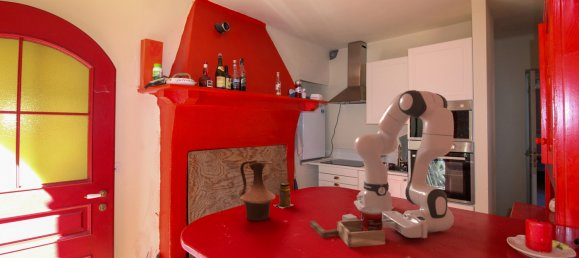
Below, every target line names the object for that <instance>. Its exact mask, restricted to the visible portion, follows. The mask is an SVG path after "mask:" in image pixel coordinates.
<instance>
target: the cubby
mask: <svg viewBox="0 0 579 258" xmlns="http://www.w3.org/2000/svg"><path fill="white" fill-rule="evenodd" d="M336 229H337V230H338V231H339V236H338V237H339V238H340V239H341V240H342V241H343V242H344V243H345V244H346V246H347V247H348V248H358V247H369V246H370V247H371V246H379V245H380V246H381V245H386V230H385V229H382V230H374V231H362V232H361V219H357V220H347V221H342V220H337V221H336Z"/></svg>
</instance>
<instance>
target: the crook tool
mask: <svg viewBox="0 0 579 258" xmlns="http://www.w3.org/2000/svg"><path fill="white" fill-rule="evenodd" d="M309 226H310V227H311V228H312V229H313V230H314V231H315V232H316V233H317V234H318V235H319V236H320V238H322V239H324V238H331V237H340V236H339V231H338V230H337V228H333V229H329V230H328V229H324V228H323V227H322V226H321V225H320V224H319V223H317V222H316V221H315V220H309Z"/></svg>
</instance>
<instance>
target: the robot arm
mask: <svg viewBox="0 0 579 258" xmlns="http://www.w3.org/2000/svg"><path fill="white" fill-rule="evenodd" d="M453 114H454V113H453V112H452V111H451V110H450V108H448V100H447V99H446V97H445V96H444V95H442V94H439V93H437V92H436V93H435V92H431V91H426V90H415V89H410V90H406V91H404V92H402V93H401V92H400V93H399V94H397V95H396V96H395V97H394V98H393V99H392V100H391V102H390V103H389V104H388V106H387V107H386V109H385V110H384V112H383V114H382V115H381V117H379V119H378V122H377V126H378V131H377V132H376V133H374V134H372V133H370V134H363V135H360V136H358V137H356V138H355V140H354V144H353V147H354V150H355V152H356V154H358V155H359V157H360V158H361V159H362V162H363V166H364V180H365V181H363V189H362V190H360V192H358V194H357V195H356V200H354V201H353V205H355V207H356V208H357V210H358V211H360V212H361V209H362V208H363V207H376V208H379V209H381V210H382V229H383V228H385V229H386V228H389V229H393V230H396V231H397V232H398V233H400V234H401V235H402V236H404V237H405V238H410V239H411V238H412V239H414V238H422V239H427V238H428V232H431V233H434V232H435V233H436V232H442V231H446V230H449V229H450V228H451V227H452V226H453V225H454V224H455V223H454V221H455V217H454V215H453V212H452V211H451V210H450V209H449V206H448V201H449V200H448V196H447V193H446V192H445V191H444V190H442V189H441V188H437V187H435V186H431V185H429V184H427V176H428V171H429V166H430V164H431V163H432V162H433V161H434V160H436V159H439V158H442V157H444V156H446V155H447V154H449V153H450V151H451V149H452V148H453V144H454V143H453V142H454V131H455V129H454V128H455V126H454V125H455V124H454V115H453ZM411 117H412V118H414V119H418V118H419V119H421V121H422V125H423V126H422V135H421V141H420V144H419V146H418V148H417V150H416V152H415V155H414V159H413V163H412V168H411V169H412V170H411V174H410V177H409V181H408V183H407V185H406V188H405V192H404V193H405V198H406V200H407V201H408V202H409V203H410V204H412V205H416V206H418V207H419V209H411V210H410V209H409V210H405V211H404V213H400V212H399V211H397V210H394V208H395V207H394V205H392V204H393V203H392V195H391V192H390V191H389V190H390V186H389V184H390V183H389V181H388V180H389V179H388V175H389V174H388V172H389V170H388V167H387V165H386V164H384V163H383V160H382V156H385V155H389V154H392V153H393V152H395V151H397V147H398V140H397V138H398V136H399V134H400V133H401V131H402V129H403V127H404V126H406V125H405V124H406V123H407V122H408V120H409V119H410V118H411Z"/></svg>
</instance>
